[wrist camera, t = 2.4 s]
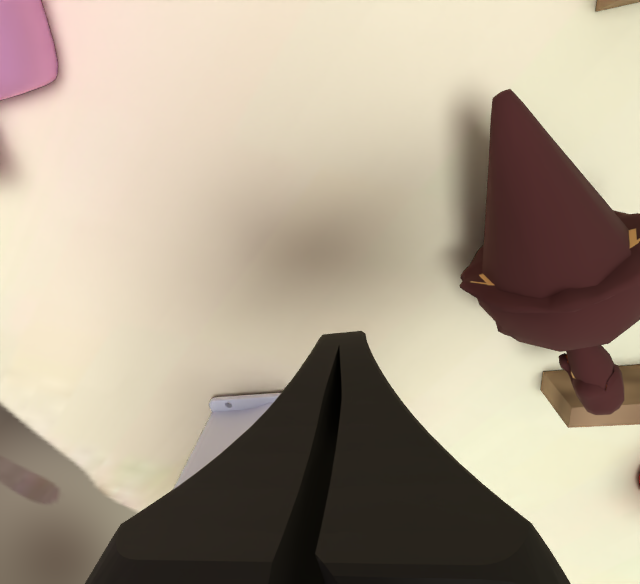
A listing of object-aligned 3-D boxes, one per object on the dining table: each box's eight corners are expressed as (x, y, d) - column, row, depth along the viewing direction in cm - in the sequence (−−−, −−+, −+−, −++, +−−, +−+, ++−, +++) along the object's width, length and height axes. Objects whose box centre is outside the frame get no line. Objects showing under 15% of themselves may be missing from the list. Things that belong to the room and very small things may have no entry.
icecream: (391, 176, 10) (518, 441, 16) (731, 3, 7) (731, 430, 13) (404, 129, 16) (497, 343, 22) (596, 18, 12) (643, 314, 18)
